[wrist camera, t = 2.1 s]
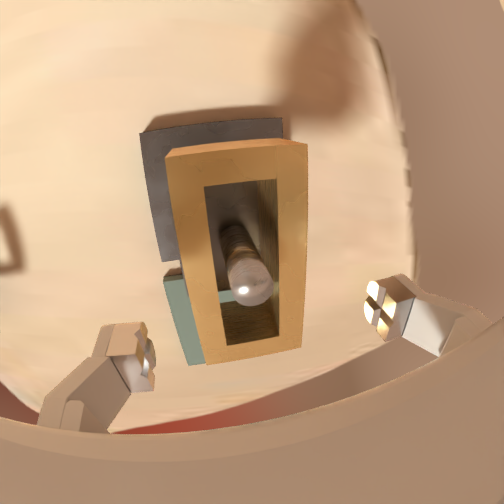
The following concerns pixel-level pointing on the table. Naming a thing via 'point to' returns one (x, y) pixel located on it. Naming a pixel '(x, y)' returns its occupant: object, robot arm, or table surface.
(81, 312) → the table surface
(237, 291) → the pin stand
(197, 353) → the rubber mat
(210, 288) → the wooden rectangular frame
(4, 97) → the table surface
